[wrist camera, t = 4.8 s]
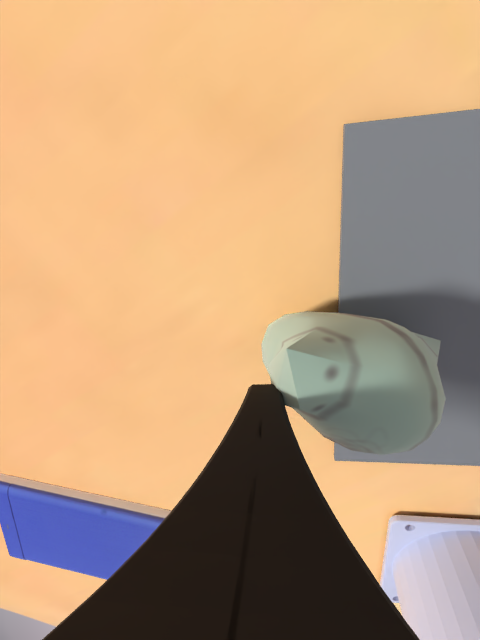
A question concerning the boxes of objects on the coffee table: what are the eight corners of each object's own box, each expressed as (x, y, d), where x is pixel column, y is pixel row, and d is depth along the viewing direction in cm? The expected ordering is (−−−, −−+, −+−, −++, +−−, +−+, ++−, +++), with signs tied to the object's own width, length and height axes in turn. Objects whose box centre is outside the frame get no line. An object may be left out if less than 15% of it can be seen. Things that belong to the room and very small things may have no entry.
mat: (668, 87, 10) (678, 86, 10) (529, 462, 17) (533, 467, 16) (343, 124, 12) (345, 124, 11) (334, 455, 18) (334, 460, 18)
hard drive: (181, 530, 21) (-13, 485, 22) (174, 599, 25) (9, 560, 26) (188, 506, 22) (6, 465, 23) (180, 575, 26) (24, 538, 27)
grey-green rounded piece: (343, 297, 17) (511, 339, 11) (325, 378, 17) (475, 451, 12) (195, 286, 12) (368, 347, 7) (180, 397, 13) (324, 533, 7)
